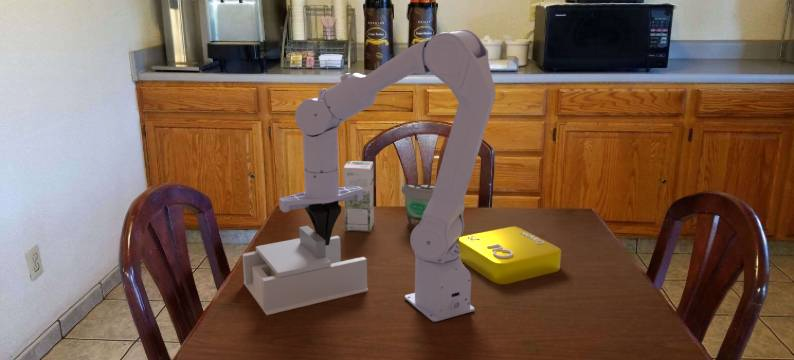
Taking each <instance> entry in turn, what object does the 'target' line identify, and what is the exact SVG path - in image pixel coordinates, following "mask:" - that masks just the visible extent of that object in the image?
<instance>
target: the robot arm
mask: <svg viewBox="0 0 794 360" xmlns="http://www.w3.org/2000/svg"><path fill="white" fill-rule="evenodd" d="M491 71H492V70H491V68H490V63H489V50H488V48H486V46H485V45H484V43H483V42H482V41H481V40H480V37H479V36H478V35H476V33H475V32H473V31H471V30H469V29H464V28H463V29H457V30H454V31H451V32H440V33H437V34H435V35H434V36H433V37H431V38H428V39H426V40H422V41H419V42H418V43H416V44H413V45H411V46H410V47H408V48H406V49H405V50H403V51H402V52H400V53H399V54H397V55H395V56H394V57H392V58H390V59H389V60H388V61H386V62H384V63H383V64H381V65H380V66H379V67H378V68H376V69H373V71H371V72H370V73H368V74H367V75H365V74H362V73H358V72H354V73H352V74H351V73H350V72H348V73H344V74H343V75H341V76H340V77H339V78H340V80H341V81H339V82H337V83H335V84H333V86H331V87H329V88H322V89H320V90H319V91H318V97H314V98H306V99H303V101H302V102H301V103H300V104H299V105H298V106H297V107H296V111H295V115H294V117H295V118H294V119H295V123H296V125H297V127H298V128H299V130H300V131H301V132H302V149H303V152H302V153H303V176H304V177H303V178H304V191H302V192H299V193H296V194H291V195H288V196H285V197H279V198H278V201H279V210H280V211H281V212H282V213H289V212H290V211H293V210H297V209H303V208H304V210H305V211H306V212H305V213H307V215H308V216H309V219H310V221H311V223H312V225H313V228H314V231H315V232H316V233H317V234H318V235H319V236H321V237H322V238H323V239H324V240H325V246H326V245H329V243H330V238H331V237H332V234H333V230H334V227H335V224H336V222H337V219H338V218H339V216H340V214H341V213H342V205H340V204H339V203H340V202H341V203H342V202H344V201H348V200H354V199H357V200H362V199H363V189H362V188H360V187H359V186H356V187H344V186H341V187H339V186H340V185H339V151H338V146H339V144H338V143H339V142H338V130H339V126H340V125H341V124H342V123H344V122H346V121H347V120H348V119H351V118H352V117H353V116H356V115H357V114H359V113H360V112H362V111H364V110H366V109H368V108H370V107H372V106H373V105H374V104H375V101H376V98H377V94H378V93H379V92H381V91H383V90H385V89H386V88H388V87H390V86H393V85H394V84H396V83H398V82H399V81H401V80H403V79H405V78H407V77H410V76H411V75H413V74H415V73H416V74H417V73H419V74H424V75H425V74H429V73H432V74H433V75H434V76H435V77H436V78H438V80H440V81H441V82H442V83H444V84H445V85H446V86H447V87H448V88H449V90H450V91H451V93H453V95H454V97H455V99H456V100H457V102H458V105H457V108H456V111H455V115H454V118H453V122H452V126H451V129H450V132H449V136H448V139H447V143H446V147H445V149H444V153H443V156H442V161H441V164H440V167H439V170H438V174H437V177H436V181H435V184H434V185H435V187H434V191H433V194H432V197H431V199H430V201H429V203H428V205H427V207H426V209H425V211H424V213H423V216H422V219H421V221H420V223H419V224H418V225H417V226H416V227H415V228H414V229H413V230H411V233H410V237H409V240H410V241H409V243H410V246H411V249H412V251H413V252H414V254H415V258H414V259H415V262H414V263H415V264H414V268H415V269H414V273H415V274H414V292H413V293H409V294H405V296H404V299H405V300H406V301H407V302H409V303H410V304H411V305H412V306H413V307H415V308H416V309H417V310H418V311H419V312H421V313H422V314H423V315H424V316H425V317H427V318H428V319H429V320H430V321H432V322H434V323H435V322H440V321H444V320H446V319H450V318H454V317H457V316H462V315H464V314H468V313H471V312H474V311H475V307H474V306H473V305H472V304H471V296H472V294H471V293H472V275H471V272H470V271H469V269H468V268H466V266H465V264H463V262H462V261H461V258H460V249H459V246H458V239H459V238H460V237H462V235H463V233H464V230H465V222H464V221H465V220H464V210H465V207H466V205H465V202H464V201H465V197H466V195H467V190H468V188H469V184H470V181H471V178H472V174H473V171H474V169H475V165H476V162H477V158H478V155H479V152H480V149H481V147H482V146H481V145H482V142H483V139H484V136H485V133H486V129H487V127H488V123H489V120H490V116H491V114H492V113H491V112H492V110H493V107H494V104H495V100H496V93H497V92H496V87H495V85H494V80H493V76H492V72H491Z"/></svg>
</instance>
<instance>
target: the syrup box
mask: <svg viewBox="0 0 794 360" xmlns="http://www.w3.org/2000/svg"><path fill="white" fill-rule="evenodd" d="M356 186H359V187H360V188H362V189H363V199H362V200H357V199H354V200H348V201H343V202H344V230H345V231H346V232H363V233H364V232H365V233H366V232H368V233H369V232H371V231H372V228H373V226H374V224H373V223H375V220H374V219H375V214H374V212H375V211H374V161H361V160H359V161H358V160H355V161H354V160H348V161H346V163H345V165H344V166H343V187H356Z"/></svg>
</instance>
